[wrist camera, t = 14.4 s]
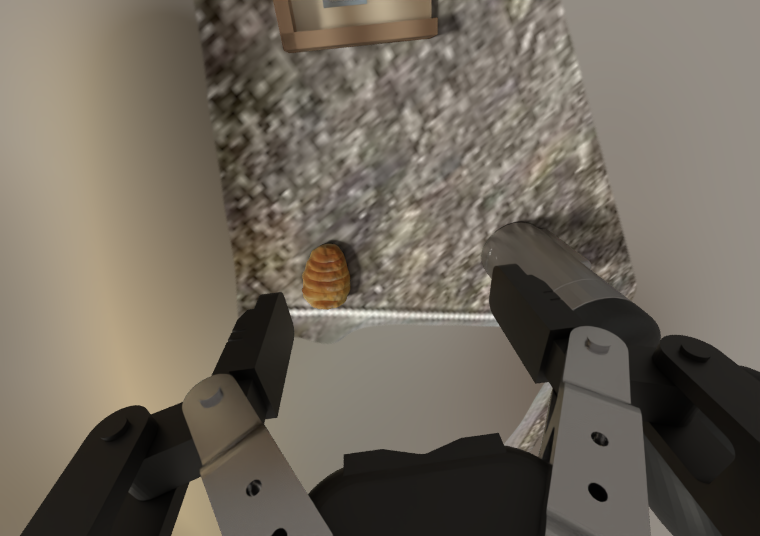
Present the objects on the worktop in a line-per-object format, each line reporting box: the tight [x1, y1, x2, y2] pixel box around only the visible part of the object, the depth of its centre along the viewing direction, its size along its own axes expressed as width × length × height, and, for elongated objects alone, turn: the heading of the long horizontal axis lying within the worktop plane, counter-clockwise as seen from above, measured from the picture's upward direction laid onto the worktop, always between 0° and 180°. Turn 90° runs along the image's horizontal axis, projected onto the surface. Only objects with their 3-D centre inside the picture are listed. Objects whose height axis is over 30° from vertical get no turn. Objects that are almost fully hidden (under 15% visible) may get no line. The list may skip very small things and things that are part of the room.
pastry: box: [302, 244, 350, 309], centre depth 42 cm, size 9×7×4 cm
